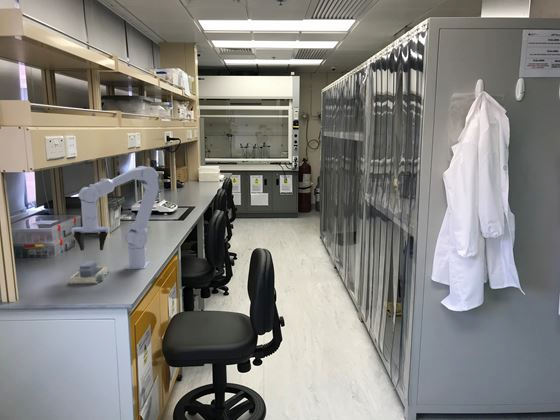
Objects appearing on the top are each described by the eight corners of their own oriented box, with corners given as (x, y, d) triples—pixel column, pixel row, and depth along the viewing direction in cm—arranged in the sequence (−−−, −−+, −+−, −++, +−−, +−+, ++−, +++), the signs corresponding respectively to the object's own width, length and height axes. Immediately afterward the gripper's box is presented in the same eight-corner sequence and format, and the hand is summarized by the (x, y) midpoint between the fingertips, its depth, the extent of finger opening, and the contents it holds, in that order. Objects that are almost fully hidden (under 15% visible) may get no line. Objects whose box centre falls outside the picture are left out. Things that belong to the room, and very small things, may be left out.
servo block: (88, 273, 181) (87, 260, 180) (98, 273, 181) (97, 260, 180) (79, 281, 171) (78, 267, 170) (89, 280, 171) (88, 267, 170)
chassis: (82, 272, 183) (81, 266, 183) (111, 272, 184) (110, 266, 184) (67, 284, 169) (67, 278, 168) (99, 284, 170) (98, 277, 169)
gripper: (67, 219, 173) (69, 252, 175) (105, 218, 174) (107, 252, 176) (74, 215, 180) (76, 248, 182) (110, 215, 181) (112, 247, 183)
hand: (92, 249), depth 180 cm, fingers open, 7 cm apart
